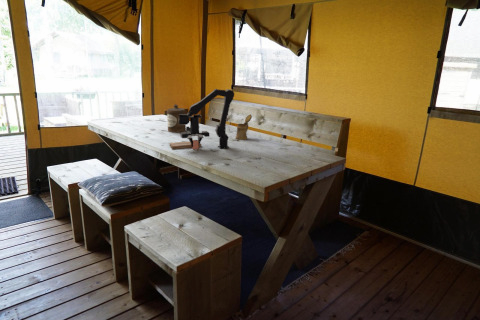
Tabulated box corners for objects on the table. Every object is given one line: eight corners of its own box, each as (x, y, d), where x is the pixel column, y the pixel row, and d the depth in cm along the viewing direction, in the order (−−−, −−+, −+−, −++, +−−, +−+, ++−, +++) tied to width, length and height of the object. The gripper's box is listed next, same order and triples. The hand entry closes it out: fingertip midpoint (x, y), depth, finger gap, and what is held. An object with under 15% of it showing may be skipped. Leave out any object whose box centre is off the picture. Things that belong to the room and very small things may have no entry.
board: (201, 146, 230) (201, 143, 230) (172, 149, 223) (172, 146, 223) (197, 143, 239) (197, 140, 239) (169, 145, 232) (169, 142, 232)
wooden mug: (254, 138, 258) (254, 115, 253) (240, 140, 250) (240, 116, 245) (247, 136, 265) (247, 113, 260) (233, 138, 257) (233, 115, 252)
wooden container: (164, 130, 282) (163, 104, 276) (179, 128, 292) (178, 102, 285) (173, 133, 272) (172, 106, 265) (189, 131, 281) (188, 104, 275)
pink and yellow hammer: (198, 149, 225) (198, 141, 223) (193, 149, 224) (193, 141, 222) (193, 144, 236) (193, 137, 235) (188, 144, 235) (188, 137, 234)
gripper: (204, 121, 232) (205, 143, 236) (178, 122, 225) (179, 145, 230) (209, 124, 222) (209, 147, 226) (181, 125, 215) (182, 149, 220)
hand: (195, 147), depth 226 cm, fingers closed on pink and yellow hammer, 3 cm apart
